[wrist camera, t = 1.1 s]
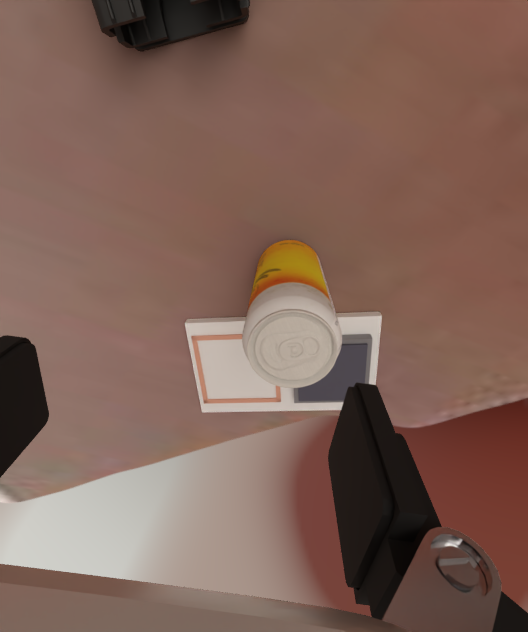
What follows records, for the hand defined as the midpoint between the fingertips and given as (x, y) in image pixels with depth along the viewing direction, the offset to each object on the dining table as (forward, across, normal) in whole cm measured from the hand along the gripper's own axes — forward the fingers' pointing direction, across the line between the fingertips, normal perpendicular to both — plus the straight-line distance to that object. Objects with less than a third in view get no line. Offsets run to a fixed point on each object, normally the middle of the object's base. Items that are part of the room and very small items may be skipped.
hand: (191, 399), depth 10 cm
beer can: (+24, -4, +3) cm, 25 cm away
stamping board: (+24, -5, +14) cm, 28 cm away
